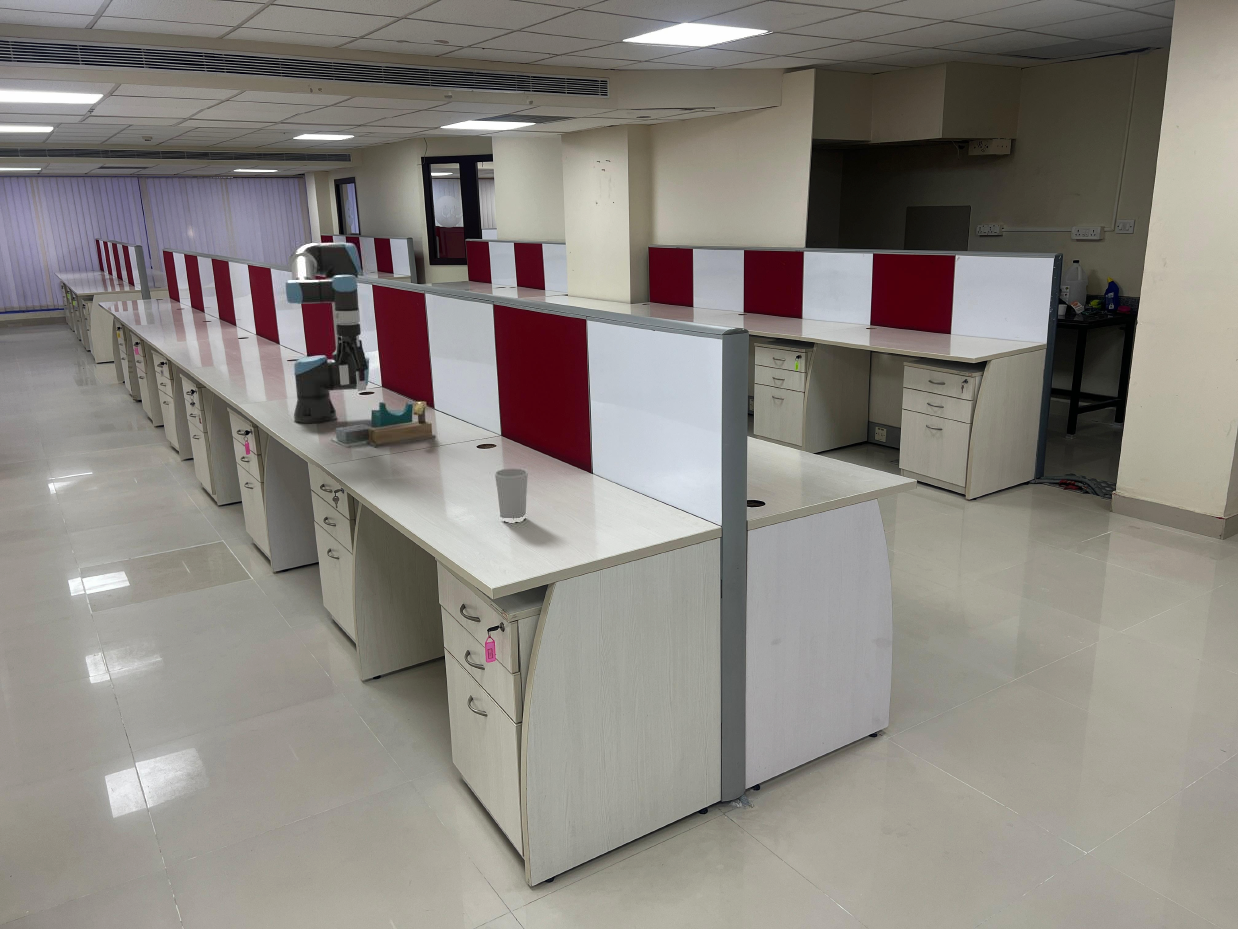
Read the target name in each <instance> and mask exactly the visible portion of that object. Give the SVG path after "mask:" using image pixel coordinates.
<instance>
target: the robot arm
mask: <svg viewBox="0 0 1238 929" xmlns="http://www.w3.org/2000/svg"><path fill="white" fill-rule="evenodd" d="M288 268H289V271H290V272H291V278H292V279H291V280H287V281H285V293H286V294H285V295H286V301H287V303H289V304H297V305H300V304H322V303H324V304H326V303H328V304H329V303H331V306H332V308H331V309H332V317H333V318H332V320H333V328H334V341H335V351H334V352H333V353H332V358H331V359H329V358H328V357H327V356H326V355H323V354H322V355H312V356H308V357H304V358H303V357H302V358H301V359H298V360H296V361H295V362H294V364H293V365H294V367H293V368H294V373H293V374H294V378H295V390H296V404H295V408H294V412H293V419H294V421H295V422H296V423H301V424H316V423H318V424H320V423H326V422H331V421H333V420H336V419H337V417H338V415H337V411H336V408H335V406H334V403H333V402H332V399H331V394H330V392H332V391H346V390H347V391H348V390H357V391H358V392H361V391H367V386H368V384H369V376H370V373H369V372H370V358H369V357H367V356H366V355H365V352H364V348H363V343H362V342H363V341H362V339H360V335H362V334H361V332H362V330H361V324H360V322H361V315H360V307H359V298H358V297H359V295H358V294H359V293H358V281H359V276H361V275H362V273H363V272H362V267H361V261H360V257H359V252H358V249H357V246H356V245H355V244H354V243H351V242H321V243H319V242H312V243H307V244H304V245H302V246H300V247H298V248H297V249H295V250H294V251H293V252H292V254H290V256H289V259H288ZM316 276H324V278H325V279H316Z"/></svg>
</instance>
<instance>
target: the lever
mask: <svg viewBox="0 0 1238 929" xmlns="http://www.w3.org/2000/svg"><path fill="white" fill-rule="evenodd" d="M414 404H415V407H414V408H413V415H414V416H415V415H416V416H418V415H421V414H422V411H423V409H425V410H426V409H427V402H426V401H415V402H414Z"/></svg>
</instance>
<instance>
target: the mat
mask: <svg viewBox="0 0 1238 929" xmlns="http://www.w3.org/2000/svg"><path fill="white" fill-rule="evenodd" d="M331 441H332V442H335V443H337V444H339V445H340V446H344V447H345V448H347V447H348V448H349V447H355V446H361V445H367V444H366V441H363V442H357V443H350V444H345V443H343V442H340V441H338V440H337V439H336V438H331ZM369 441H370V440H369Z"/></svg>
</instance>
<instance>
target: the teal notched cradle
mask: <svg viewBox="0 0 1238 929" xmlns="http://www.w3.org/2000/svg"><path fill="white" fill-rule="evenodd" d="M378 405H379V406H378V409H371V421H370V422H371V425H372V426H373V428H377V427H384V426H390V425H397V424H403V423H409V422H413V413H414V411H413V409H414V408H413V406H414V405H413V403H412V402H406V403H405V406H404V408H403V409H387V405H386V403H385V402H383V401H381V402H379V404H378Z"/></svg>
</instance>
